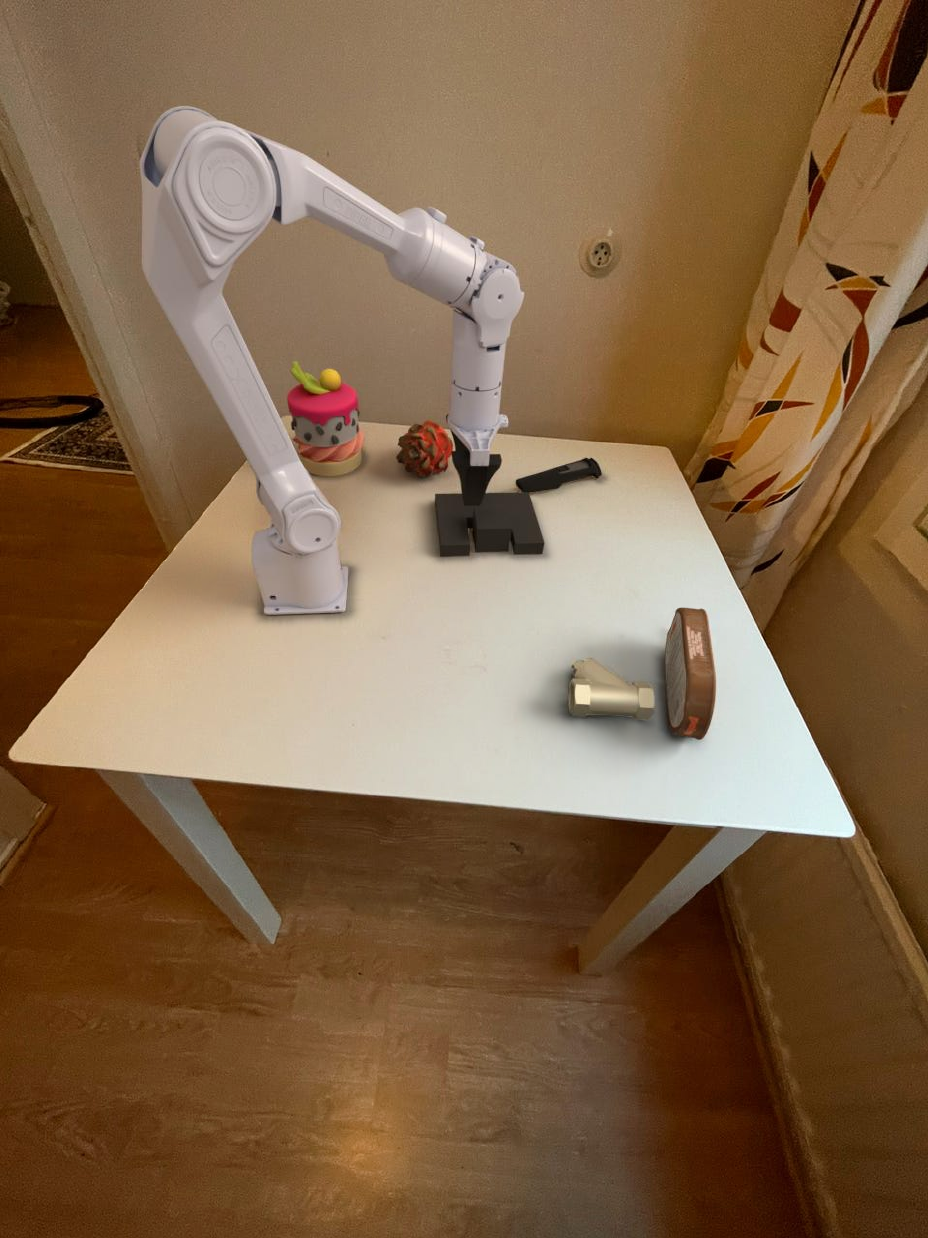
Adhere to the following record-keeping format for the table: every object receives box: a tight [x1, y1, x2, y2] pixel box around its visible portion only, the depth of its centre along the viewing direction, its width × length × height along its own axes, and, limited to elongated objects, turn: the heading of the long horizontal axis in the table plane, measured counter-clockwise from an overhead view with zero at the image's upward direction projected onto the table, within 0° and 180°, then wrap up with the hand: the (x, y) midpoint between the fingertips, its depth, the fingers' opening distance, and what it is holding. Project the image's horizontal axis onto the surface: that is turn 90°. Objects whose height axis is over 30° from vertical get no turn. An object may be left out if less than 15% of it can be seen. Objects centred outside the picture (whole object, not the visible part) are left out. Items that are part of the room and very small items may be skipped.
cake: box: [286, 360, 365, 477], centre depth 85 cm, size 10×11×15 cm
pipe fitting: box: [567, 657, 655, 721], centre depth 59 cm, size 8×4×7 cm
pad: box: [471, 508, 512, 553], centre depth 76 cm, size 5×5×4 cm
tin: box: [664, 607, 717, 741], centre depth 58 cm, size 15×3×8 cm, turn 168°
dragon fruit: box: [396, 419, 454, 479], centre depth 87 cm, size 8×8×12 cm
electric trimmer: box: [515, 457, 603, 494], centre depth 87 cm, size 4×16×3 cm, turn 118°
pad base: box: [434, 491, 546, 558], centre depth 79 cm, size 14×12×2 cm
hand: (469, 486), depth 71 cm, fingers open, 7 cm apart
